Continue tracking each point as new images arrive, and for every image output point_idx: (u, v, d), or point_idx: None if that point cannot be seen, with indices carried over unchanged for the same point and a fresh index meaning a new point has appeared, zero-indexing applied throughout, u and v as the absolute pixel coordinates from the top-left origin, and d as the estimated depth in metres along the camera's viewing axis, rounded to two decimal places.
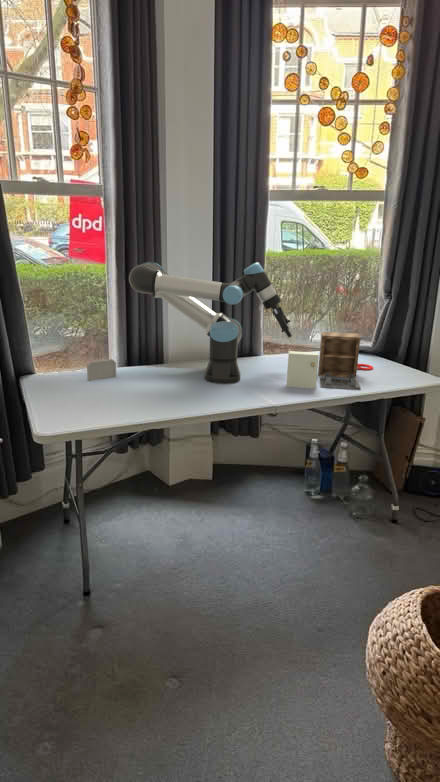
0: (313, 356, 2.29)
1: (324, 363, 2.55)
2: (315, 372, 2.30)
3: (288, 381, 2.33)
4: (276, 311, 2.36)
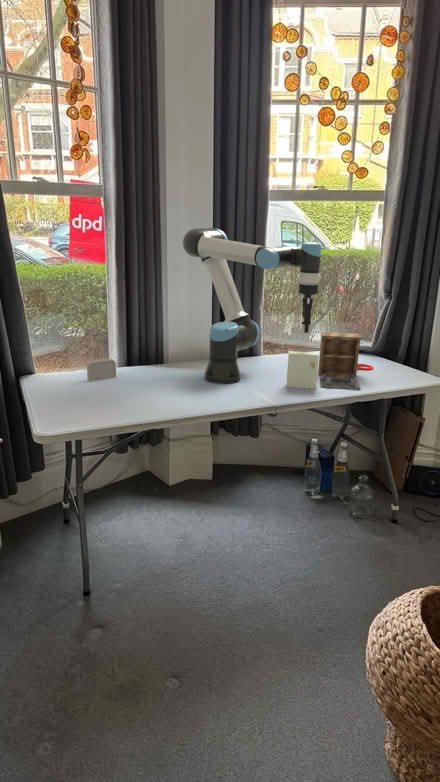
0: (313, 356, 2.29)
1: (324, 363, 2.55)
2: (315, 372, 2.30)
3: (288, 381, 2.33)
4: (309, 301, 2.18)
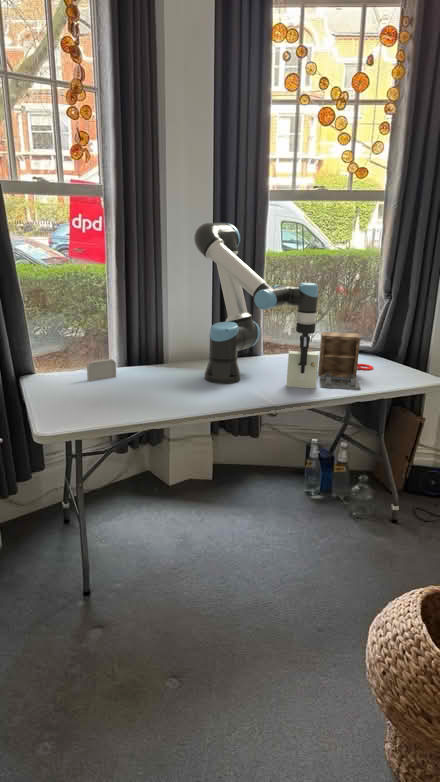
0: (313, 356, 2.29)
1: (324, 363, 2.55)
2: (315, 372, 2.30)
3: (288, 381, 2.33)
4: (305, 345, 2.23)
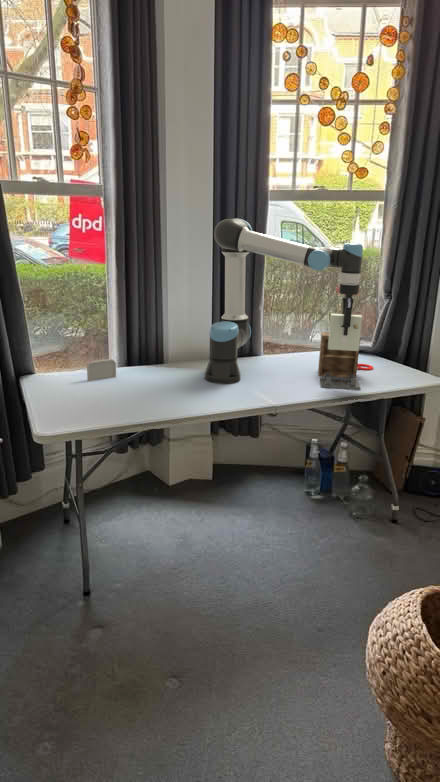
0: (356, 318, 2.27)
1: (324, 363, 2.55)
2: (358, 334, 2.29)
3: (330, 344, 2.31)
4: (349, 305, 2.21)
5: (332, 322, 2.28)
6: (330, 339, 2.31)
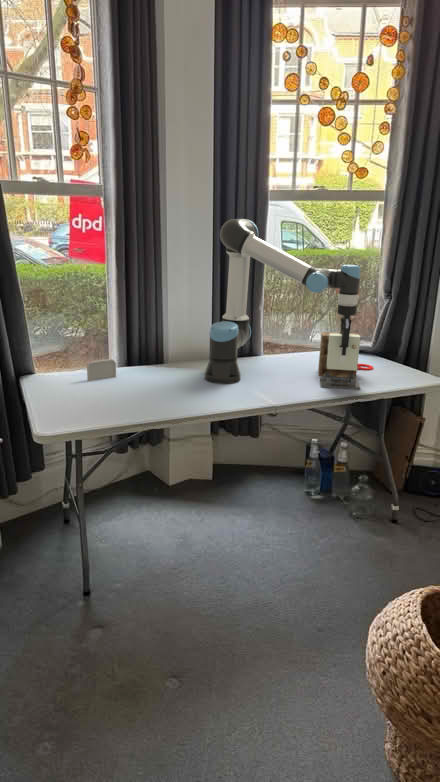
0: (354, 338, 2.29)
1: (324, 363, 2.55)
2: (356, 354, 2.31)
3: (329, 363, 2.34)
4: (347, 326, 2.24)
5: (330, 342, 2.31)
6: (328, 359, 2.33)
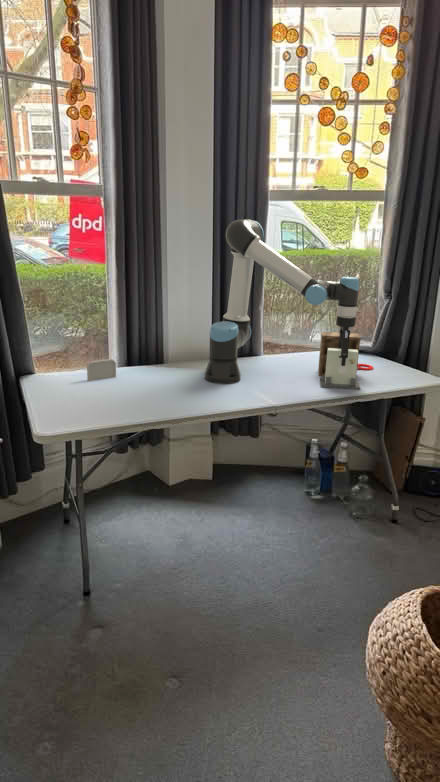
0: (353, 353, 2.31)
1: (324, 363, 2.55)
2: (354, 369, 2.33)
3: None
4: (346, 335, 2.25)
5: (329, 357, 2.33)
6: (327, 373, 2.35)
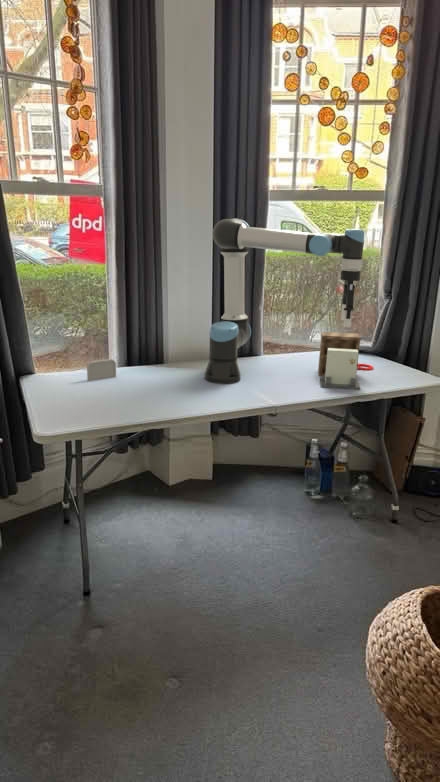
0: (353, 353, 2.31)
1: (324, 363, 2.55)
2: (354, 369, 2.33)
3: None
4: (351, 287, 2.19)
5: (329, 357, 2.33)
6: (327, 373, 2.35)
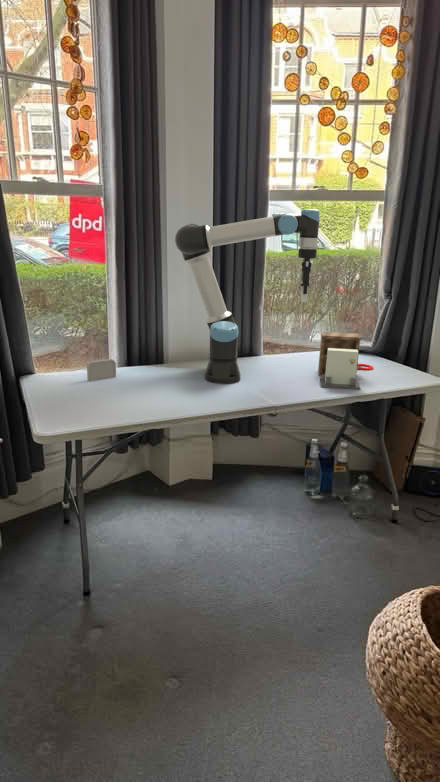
0: (353, 353, 2.31)
1: (324, 363, 2.55)
2: (354, 369, 2.33)
3: None
4: (307, 264, 2.32)
5: (329, 357, 2.33)
6: (327, 373, 2.35)
